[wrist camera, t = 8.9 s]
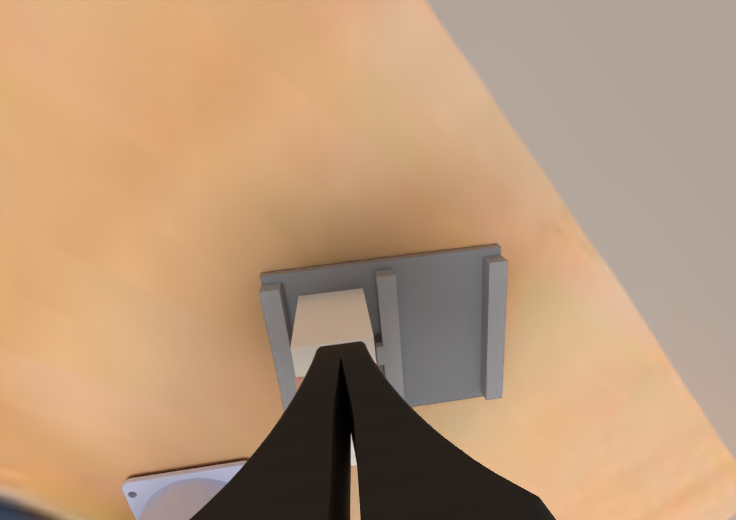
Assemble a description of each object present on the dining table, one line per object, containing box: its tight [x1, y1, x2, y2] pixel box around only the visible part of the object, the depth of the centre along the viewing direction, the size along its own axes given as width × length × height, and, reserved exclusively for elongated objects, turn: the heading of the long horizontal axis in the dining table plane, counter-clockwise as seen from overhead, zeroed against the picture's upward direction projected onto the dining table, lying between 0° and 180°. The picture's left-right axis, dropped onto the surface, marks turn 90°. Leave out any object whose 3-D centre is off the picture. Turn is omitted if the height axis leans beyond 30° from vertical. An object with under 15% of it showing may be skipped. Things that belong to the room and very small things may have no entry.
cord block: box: [290, 288, 377, 466], centre depth 19 cm, size 7×4×5 cm, turn 5°
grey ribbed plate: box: [259, 244, 508, 411], centre depth 21 cm, size 10×13×3 cm
